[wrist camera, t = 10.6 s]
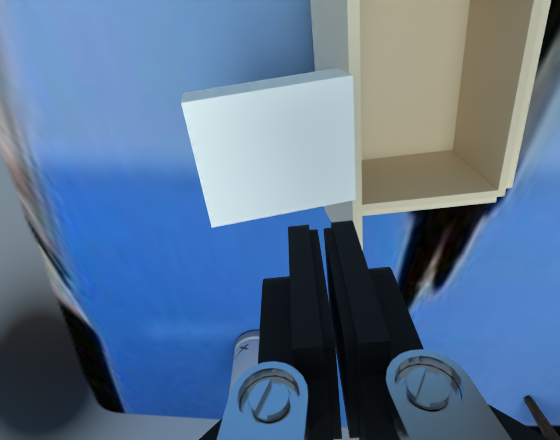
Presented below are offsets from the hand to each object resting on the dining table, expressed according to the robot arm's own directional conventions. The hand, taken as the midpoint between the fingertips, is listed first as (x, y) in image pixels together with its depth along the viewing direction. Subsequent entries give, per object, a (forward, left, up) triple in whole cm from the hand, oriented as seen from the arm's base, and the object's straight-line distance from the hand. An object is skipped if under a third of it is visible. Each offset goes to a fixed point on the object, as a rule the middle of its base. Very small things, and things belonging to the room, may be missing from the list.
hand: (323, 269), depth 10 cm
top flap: (-3, +1, -16) cm, 16 cm away
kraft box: (-9, +1, -30) cm, 31 cm away
